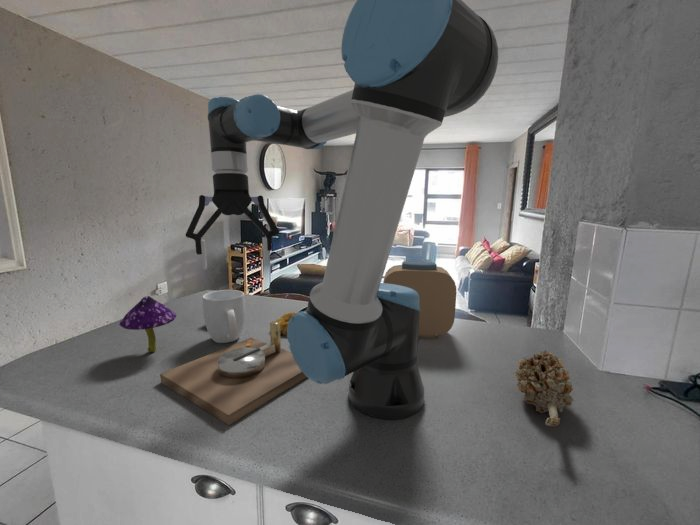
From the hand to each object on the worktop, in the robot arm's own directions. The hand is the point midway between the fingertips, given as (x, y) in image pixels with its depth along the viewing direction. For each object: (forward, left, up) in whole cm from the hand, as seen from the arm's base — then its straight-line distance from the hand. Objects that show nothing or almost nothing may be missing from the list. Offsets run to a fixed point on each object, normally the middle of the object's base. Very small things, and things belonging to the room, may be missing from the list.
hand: (236, 266), depth 78 cm
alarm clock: (-28, -42, -24) cm, 56 cm away
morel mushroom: (-64, -19, -24) cm, 71 cm away
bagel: (+4, -21, -24) cm, 32 cm away
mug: (+13, -5, -24) cm, 28 cm away
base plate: (-7, +5, -24) cm, 25 cm away
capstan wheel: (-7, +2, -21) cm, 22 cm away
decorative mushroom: (+22, +11, -24) cm, 34 cm away
